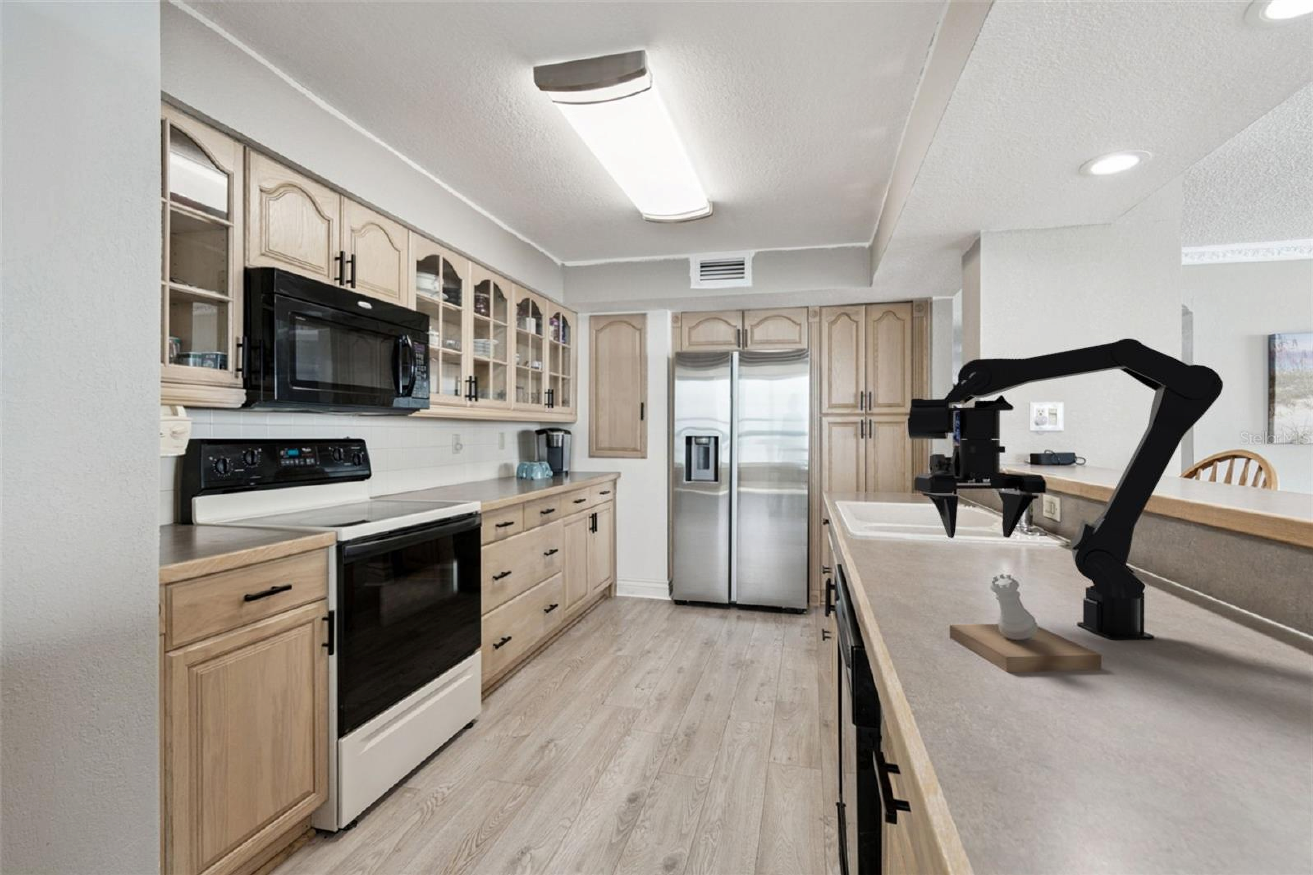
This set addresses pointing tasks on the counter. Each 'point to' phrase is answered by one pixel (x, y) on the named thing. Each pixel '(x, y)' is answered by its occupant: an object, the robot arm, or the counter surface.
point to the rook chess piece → (1012, 610)
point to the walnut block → (1025, 649)
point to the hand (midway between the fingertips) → (978, 537)
